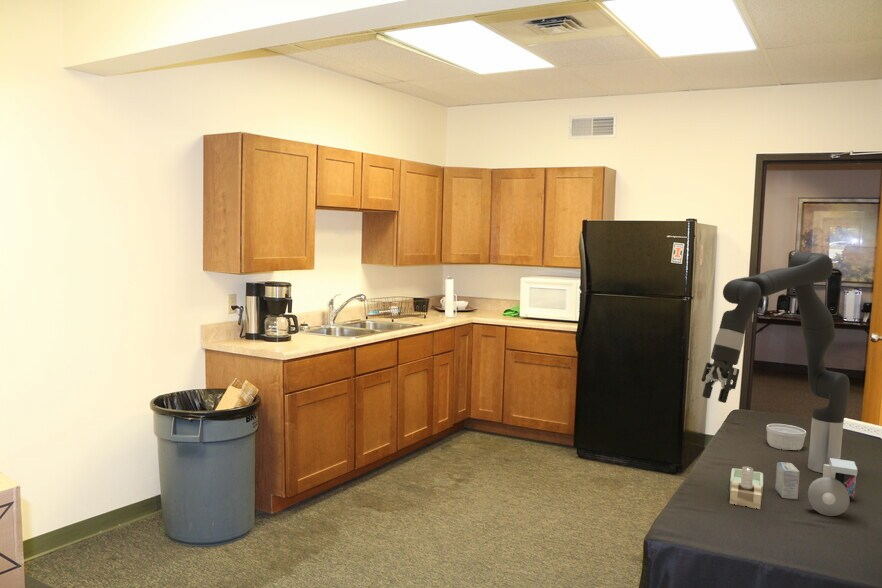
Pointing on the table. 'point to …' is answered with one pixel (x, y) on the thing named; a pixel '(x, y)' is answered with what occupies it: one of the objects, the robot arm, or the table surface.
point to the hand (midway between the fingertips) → (713, 399)
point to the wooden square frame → (745, 496)
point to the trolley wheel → (831, 488)
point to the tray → (756, 481)
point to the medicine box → (787, 480)
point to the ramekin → (785, 436)
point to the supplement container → (847, 483)
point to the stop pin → (746, 478)
